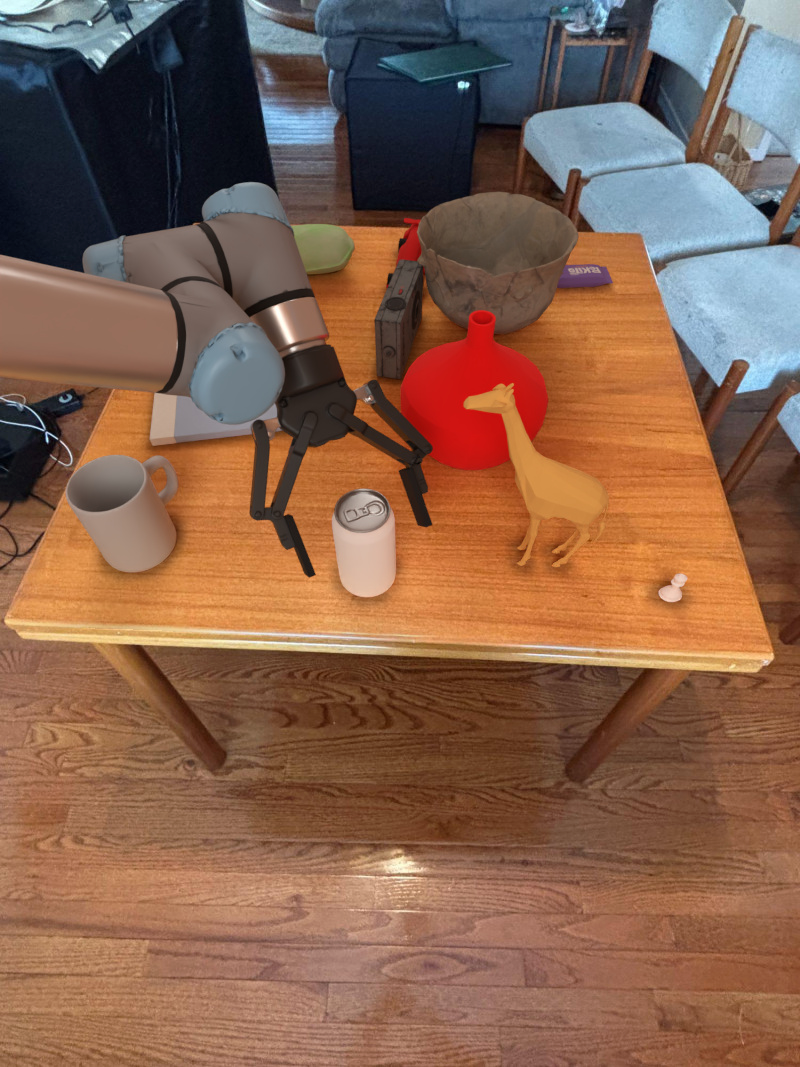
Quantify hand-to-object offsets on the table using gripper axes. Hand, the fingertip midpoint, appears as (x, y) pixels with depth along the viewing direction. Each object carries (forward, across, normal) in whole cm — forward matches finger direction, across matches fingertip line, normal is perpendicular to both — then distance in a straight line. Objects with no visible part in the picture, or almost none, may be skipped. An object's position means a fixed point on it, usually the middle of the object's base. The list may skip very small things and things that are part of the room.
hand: (369, 549), depth 68 cm
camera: (-21, -22, -30) cm, 42 cm away
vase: (-5, -21, -14) cm, 26 cm away
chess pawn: (+17, -29, +8) cm, 34 cm away
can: (+4, 0, -5) cm, 6 cm away
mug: (-8, +21, -17) cm, 28 cm away
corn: (-40, -16, -49) cm, 65 cm away
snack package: (-22, -57, -31) cm, 68 cm away
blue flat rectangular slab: (-22, +5, -30) cm, 38 cm away
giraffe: (+8, -17, -1) cm, 19 cm away
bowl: (-21, -38, -30) cm, 52 cm away
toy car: (-33, -33, -42) cm, 63 cm away
